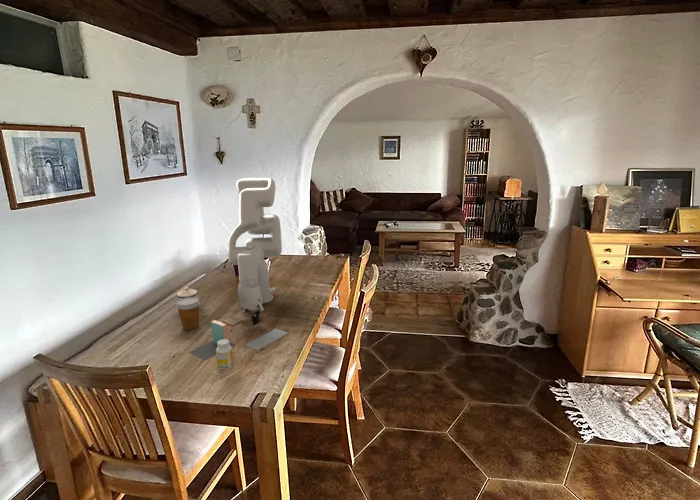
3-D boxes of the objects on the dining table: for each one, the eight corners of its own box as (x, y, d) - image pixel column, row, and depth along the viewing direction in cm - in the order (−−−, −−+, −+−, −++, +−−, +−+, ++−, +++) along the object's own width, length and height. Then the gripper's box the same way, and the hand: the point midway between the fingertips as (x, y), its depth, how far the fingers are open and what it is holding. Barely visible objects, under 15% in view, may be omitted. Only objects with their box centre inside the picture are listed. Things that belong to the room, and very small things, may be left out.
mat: (219, 338, 166) (219, 337, 166) (235, 345, 160) (235, 344, 160) (188, 353, 155) (188, 352, 155) (205, 361, 149) (204, 360, 149)
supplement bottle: (223, 372, 142) (220, 347, 139) (214, 366, 145) (211, 342, 143) (236, 365, 146) (234, 341, 143) (227, 360, 149) (225, 336, 147)
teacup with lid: (192, 315, 187) (189, 291, 184) (174, 314, 189) (171, 290, 186) (206, 305, 199) (204, 282, 196) (189, 304, 200) (186, 281, 197)
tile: (217, 340, 163) (215, 319, 161) (228, 345, 159) (226, 324, 157) (213, 342, 162) (210, 321, 159) (224, 347, 158) (222, 326, 155)
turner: (254, 317, 177) (253, 307, 176) (264, 321, 174) (263, 310, 173) (223, 332, 164) (222, 321, 163) (233, 336, 161) (232, 324, 160)
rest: (276, 329, 173) (276, 328, 173) (288, 334, 169) (288, 332, 169) (244, 346, 159) (244, 344, 159) (257, 351, 155) (257, 350, 155)
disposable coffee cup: (207, 323, 179) (204, 298, 176) (192, 333, 170) (189, 306, 167) (189, 320, 182) (186, 295, 179) (174, 330, 174) (170, 303, 170)
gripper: (228, 280, 169) (232, 321, 174) (256, 288, 160) (259, 331, 165) (242, 275, 175) (245, 314, 180) (270, 282, 166) (273, 324, 171)
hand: (252, 322), depth 173 cm, fingers closed on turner, 4 cm apart
